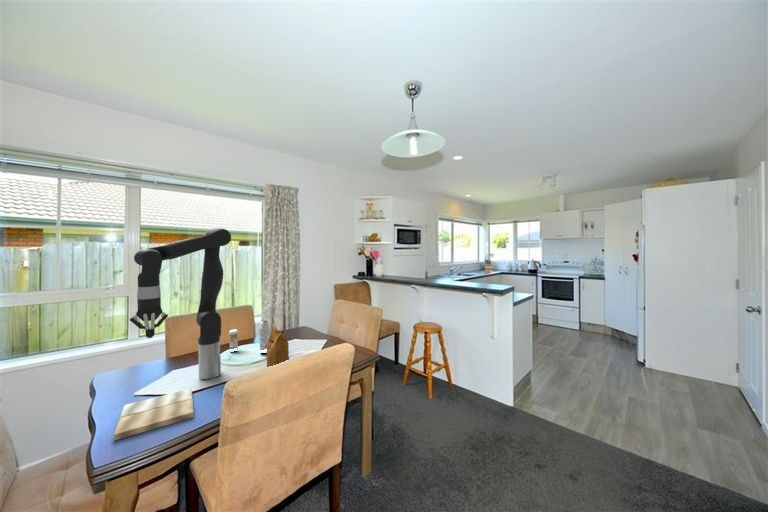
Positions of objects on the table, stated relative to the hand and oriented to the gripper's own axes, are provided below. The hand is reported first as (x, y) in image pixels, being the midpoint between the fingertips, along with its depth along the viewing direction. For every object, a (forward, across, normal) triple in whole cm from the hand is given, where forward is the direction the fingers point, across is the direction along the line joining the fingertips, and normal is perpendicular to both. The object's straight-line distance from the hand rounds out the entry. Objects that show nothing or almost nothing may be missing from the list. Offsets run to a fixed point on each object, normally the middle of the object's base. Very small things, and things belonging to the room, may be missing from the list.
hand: (150, 337), depth 117 cm
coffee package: (+27, -52, 0) cm, 59 cm away
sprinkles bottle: (+27, -37, -42) cm, 62 cm away
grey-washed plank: (+27, -3, +8) cm, 28 cm away
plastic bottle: (+27, -52, -27) cm, 65 cm away
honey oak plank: (+27, -3, +20) cm, 33 cm away
